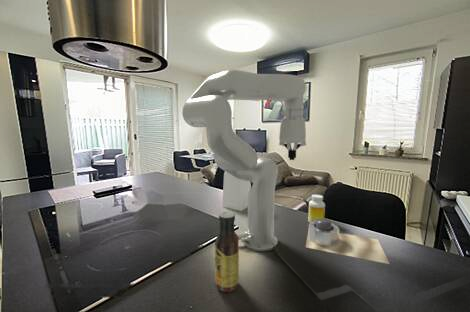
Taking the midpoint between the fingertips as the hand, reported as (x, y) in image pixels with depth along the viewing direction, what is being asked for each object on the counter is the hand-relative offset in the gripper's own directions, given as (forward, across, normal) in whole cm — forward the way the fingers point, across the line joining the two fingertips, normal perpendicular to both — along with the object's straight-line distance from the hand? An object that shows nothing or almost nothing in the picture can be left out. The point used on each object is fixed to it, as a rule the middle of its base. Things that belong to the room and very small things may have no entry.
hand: (291, 159), depth 88 cm
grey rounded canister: (+27, +13, -9) cm, 31 cm away
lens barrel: (+28, +13, -9) cm, 32 cm away
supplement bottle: (+29, +10, +6) cm, 32 cm away
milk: (+29, -31, +15) cm, 45 cm away
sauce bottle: (+29, -10, -43) cm, 53 cm away
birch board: (+29, +20, -9) cm, 36 cm away
